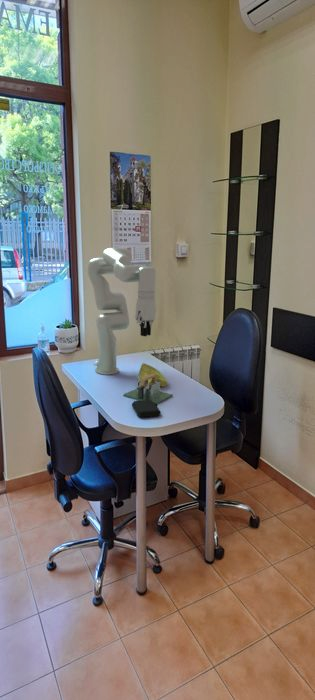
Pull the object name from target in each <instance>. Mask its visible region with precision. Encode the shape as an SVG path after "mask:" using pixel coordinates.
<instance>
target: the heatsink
mask: <svg viewBox="0 0 315 700" xmlns="http://www.w3.org/2000/svg"><path fill="white" fill-rule="evenodd" d="M122 396H123V397H125V398H129V399H133V400H135V401H142V400H151V401H153V402H155V403H156V404H157V405H159V404H160V403H163V402H164V401H166V400H168V399H171V398H172V397H173V396H174V394H173V393H172V394H171V393H168V392H164V391H161V386H160V382H159V380H156V382H154V383H151V384H148V380H146V381H145V388H144V387H141V380H140V381H139V380H138V381H136V388H134V389H132V390H131V391H128V392H126V393H123V394H122Z"/></svg>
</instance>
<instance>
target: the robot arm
mask: <svg viewBox="0 0 315 700" xmlns="http://www.w3.org/2000/svg"><path fill="white" fill-rule="evenodd" d="M132 260H133V255H132V252H131V251H130V249H128V248H126V247H108V248H106V249H104V250H103V252H102V257H95V258H92V259H90V260H89V262H88V263H87V275H88V278H89V281H90V282H91V284H92V289H93V295H94V300H95V305H96V308H97V310H98V311H101V312H102V311H103V313H100V314H98V316H97V317H96V327H97V333H98V334H97V335H98V336H97V337H98V339H97V340H98V343H97V345H98V361H97V360H96V361H94V363H93V366H96V368H95V372H96V373H97V374H100V375H106V376H108V375H115V374H119V372H120V368H119V367H117V346H118V344H117V342H118V341H117V337H116V336H115V334H114V331H122V330H127V329H128V328H129V326H130V317H129V311H128V305H127V301H126V297H125V294H123V293H122V292H118V291H113V292H112V291H111V288H110V283H109V282H108V280H107V279H106V277H104V276H103V275H114V276H115V278H117V279H118V280H119V281H121V282H123V283H137V284H138V285H137V286H138V287H137V288H138V289H137V299H136V303H135V315H134V319H135V321H136V324H137V325H139V327H140V334H139V335H140V337H147V336H151V334H152V331H151V330H152V326H153V325H152V324H153V322H154V321H155V319H156V314H157V313H156V312H157V311H156V308H157V307H156V273H157V272H156V269H155V267H151V266H147V265H143V264H141V265H139V264H138V265H137V264H136V265H133V264H132V265H131V263H132ZM107 311H108V312H107ZM109 311H114V312H109Z"/></svg>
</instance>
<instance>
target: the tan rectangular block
mask: <svg viewBox="0 0 315 700" xmlns="http://www.w3.org/2000/svg"><path fill="white" fill-rule="evenodd" d="M156 376H157V374H153V373H152V374H150V375H147V376H145V377H142V378H140V380H141V387H144V388H145V381H146V380H148V379H151V378H152V383H154V382H156Z"/></svg>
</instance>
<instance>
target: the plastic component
mask: <svg viewBox="0 0 315 700" xmlns="http://www.w3.org/2000/svg"><path fill="white" fill-rule="evenodd" d="M152 373H153V374H157V376H156V380H159V382H160V387H163V388H165V387H167V384H168V382H169V380H167V378H166V377H165V376H164V375H163V374H162V372H161V371H159V369H157V368H155V367H154V366H152V365H150V364H147V363H144V362H143V363H142V364H141V365H140V368H139V372H138V381H140V378H142V377H145V376H147V375H150V374H152ZM151 383H152V378H151V379H148V384H151Z"/></svg>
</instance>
